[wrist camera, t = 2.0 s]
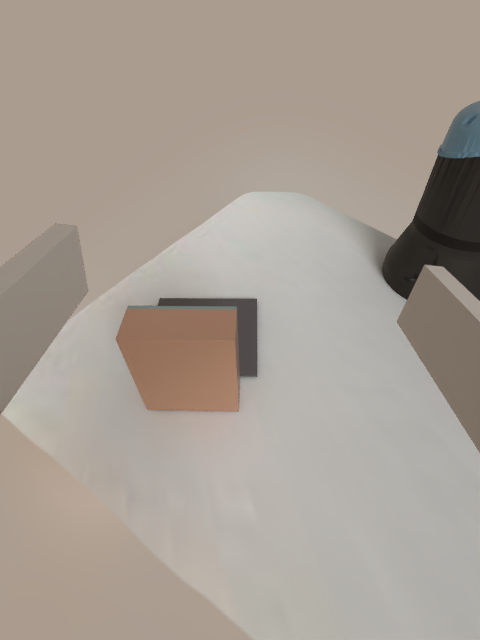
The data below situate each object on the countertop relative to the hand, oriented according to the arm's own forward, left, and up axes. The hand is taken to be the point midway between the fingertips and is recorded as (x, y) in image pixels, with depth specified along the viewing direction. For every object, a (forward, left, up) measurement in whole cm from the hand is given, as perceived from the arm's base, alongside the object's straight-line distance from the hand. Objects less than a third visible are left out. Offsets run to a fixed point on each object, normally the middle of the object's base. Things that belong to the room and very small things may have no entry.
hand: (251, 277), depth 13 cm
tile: (-10, -6, -25) cm, 27 cm away
